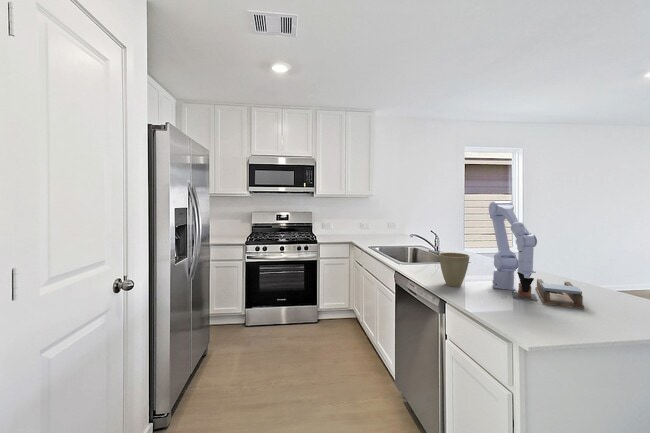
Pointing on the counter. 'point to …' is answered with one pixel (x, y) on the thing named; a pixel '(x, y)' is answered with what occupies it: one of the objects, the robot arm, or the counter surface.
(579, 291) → the lid
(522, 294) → the block
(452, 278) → the plant pot
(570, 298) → the brown tray
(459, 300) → the counter surface
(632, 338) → the counter surface
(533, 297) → the mat
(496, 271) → the robot arm
